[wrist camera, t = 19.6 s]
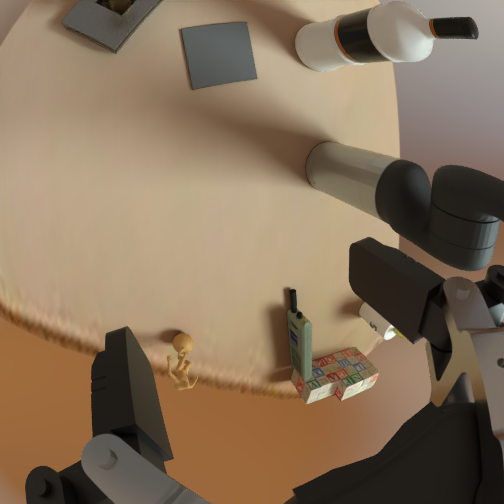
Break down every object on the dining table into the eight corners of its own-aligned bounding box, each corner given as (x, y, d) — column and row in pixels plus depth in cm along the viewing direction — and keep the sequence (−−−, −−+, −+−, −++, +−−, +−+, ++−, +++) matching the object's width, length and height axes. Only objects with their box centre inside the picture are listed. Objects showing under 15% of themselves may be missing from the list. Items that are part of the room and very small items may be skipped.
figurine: (201, 341, 57) (219, 385, 47) (179, 357, 56) (193, 402, 46) (175, 319, 52) (188, 365, 42) (151, 337, 52) (161, 384, 42)
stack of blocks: (289, 380, 75) (311, 413, 64) (293, 365, 72) (317, 398, 62) (349, 360, 83) (373, 386, 72) (355, 345, 80) (380, 372, 70)
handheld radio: (289, 365, 71) (282, 290, 59) (300, 360, 72) (296, 284, 60) (302, 382, 66) (299, 308, 54) (313, 376, 67) (314, 301, 55)
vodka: (282, 36, 37) (441, -9, 12) (320, 18, 37) (470, -15, 12) (310, 81, 42) (475, 80, 17) (345, 59, 42) (497, 57, 17)
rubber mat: (245, 22, 34) (246, 21, 34) (256, 79, 39) (257, 78, 39) (181, 29, 32) (181, 29, 31) (192, 89, 37) (193, 89, 36)
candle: (358, 305, 71) (396, 339, 59) (376, 293, 72) (415, 324, 60) (358, 321, 74) (393, 355, 62) (376, 309, 76) (412, 340, 63)
